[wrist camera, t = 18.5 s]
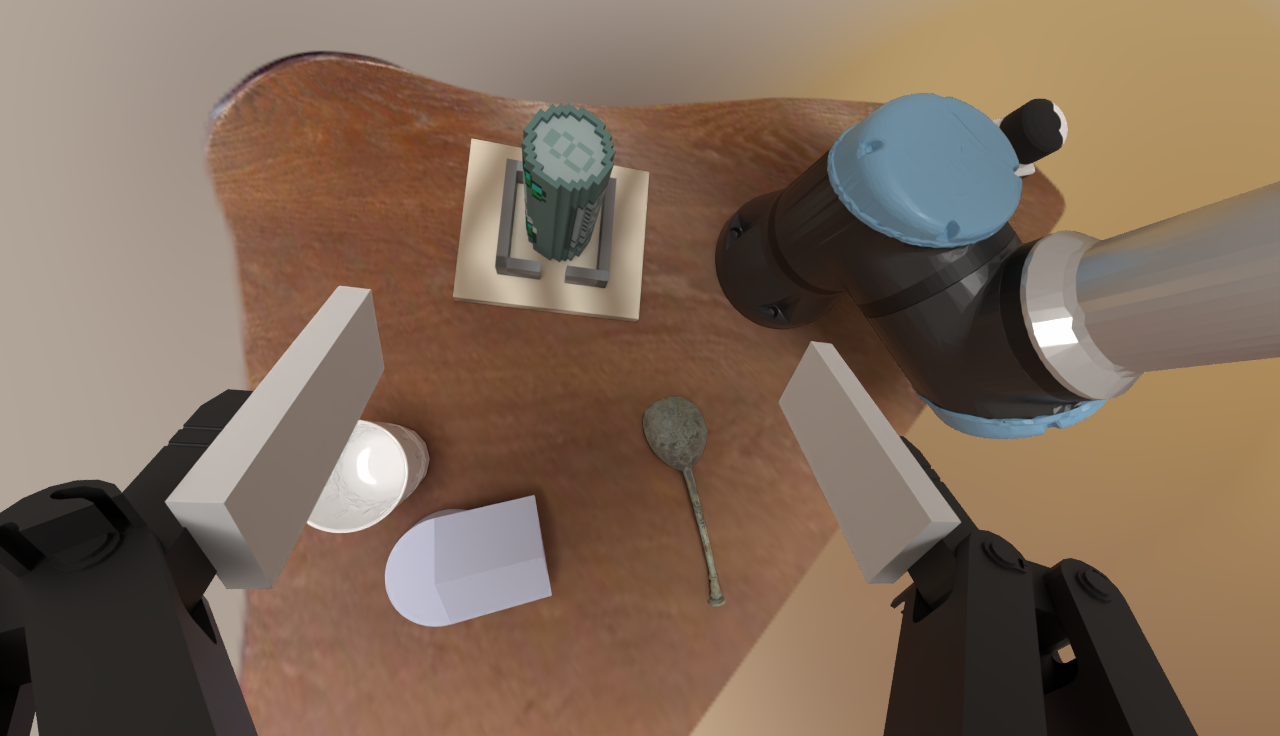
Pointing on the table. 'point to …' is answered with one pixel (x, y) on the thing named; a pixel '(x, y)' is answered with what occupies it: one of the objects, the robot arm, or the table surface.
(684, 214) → the table surface
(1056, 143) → the medicine bottle
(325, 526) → the white cup
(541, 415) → the table surface
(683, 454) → the soupspoon
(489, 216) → the board with grey rim
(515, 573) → the wedge on round base
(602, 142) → the can
